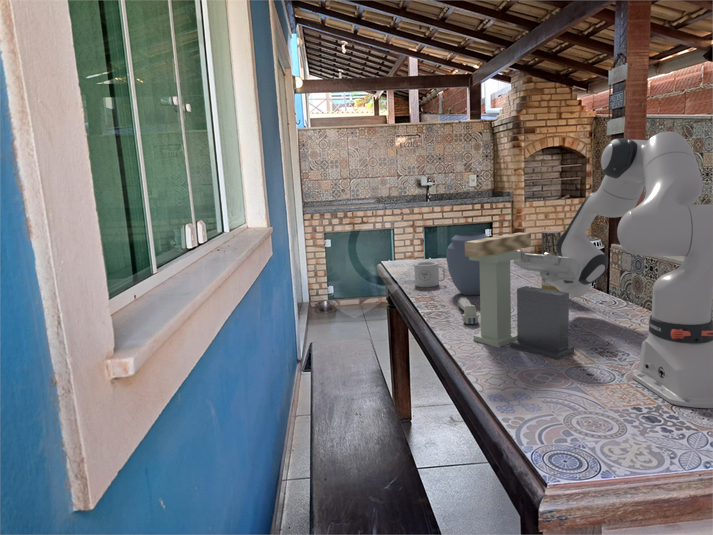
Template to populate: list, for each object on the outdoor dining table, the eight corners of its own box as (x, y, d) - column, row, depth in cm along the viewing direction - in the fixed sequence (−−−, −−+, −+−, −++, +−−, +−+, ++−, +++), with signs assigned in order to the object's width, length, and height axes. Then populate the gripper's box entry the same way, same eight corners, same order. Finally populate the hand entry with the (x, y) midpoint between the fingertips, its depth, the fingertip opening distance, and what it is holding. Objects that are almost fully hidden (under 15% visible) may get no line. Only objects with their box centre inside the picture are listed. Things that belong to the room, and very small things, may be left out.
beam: (519, 245, 155) (519, 232, 154) (530, 246, 152) (530, 233, 151) (465, 256, 141) (464, 241, 141) (476, 257, 138) (475, 242, 137)
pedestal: (493, 333, 157) (492, 248, 152) (521, 340, 149) (520, 251, 144) (471, 340, 151) (469, 253, 146) (498, 348, 143) (497, 255, 138)
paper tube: (561, 296, 196) (562, 231, 192) (543, 296, 197) (543, 231, 193) (558, 292, 203) (558, 229, 198) (540, 292, 204) (540, 230, 200)
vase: (437, 294, 211) (435, 235, 207) (467, 286, 223) (465, 230, 219) (476, 301, 196) (474, 238, 192) (505, 292, 208) (505, 232, 204)
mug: (413, 287, 228) (412, 265, 226) (417, 282, 238) (416, 261, 236) (443, 287, 224) (442, 265, 222) (446, 282, 234) (446, 261, 232)
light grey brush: (469, 296, 190) (479, 303, 165) (470, 314, 190) (480, 323, 165) (455, 296, 190) (462, 303, 165) (455, 314, 191) (463, 324, 166)
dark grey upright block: (529, 340, 148) (528, 284, 145) (574, 352, 136) (575, 291, 133) (511, 347, 143) (510, 289, 140) (556, 359, 132) (557, 297, 129)
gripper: (530, 258, 172) (507, 242, 164) (588, 264, 156) (565, 246, 148) (524, 276, 171) (501, 260, 164) (582, 283, 155) (559, 266, 147)
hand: (532, 253), depth 156 cm, fingers open, 8 cm apart
